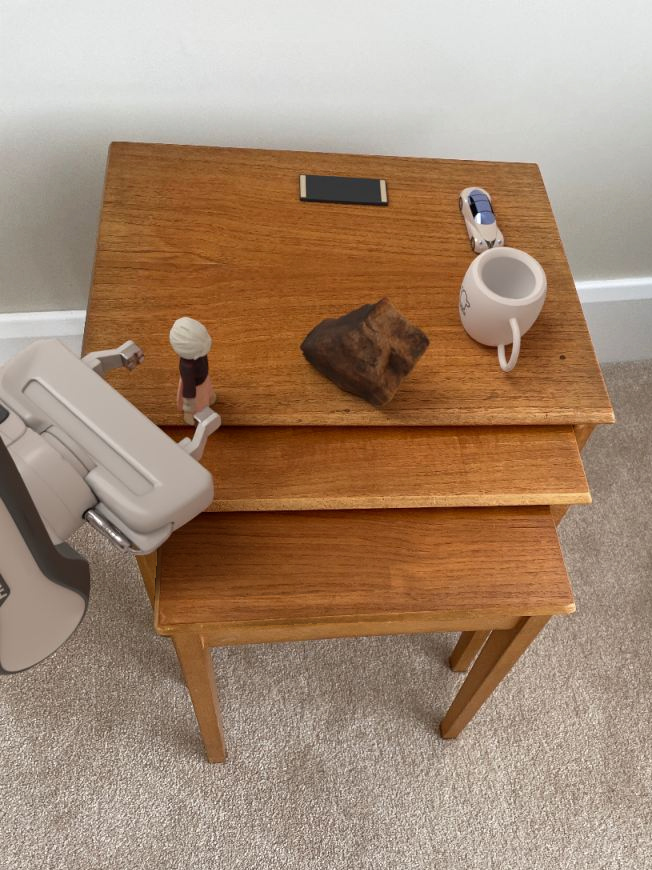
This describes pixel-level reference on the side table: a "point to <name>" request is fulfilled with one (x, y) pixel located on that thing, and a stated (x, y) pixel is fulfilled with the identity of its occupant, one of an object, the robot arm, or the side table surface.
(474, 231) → the toy car
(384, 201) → the black flat block
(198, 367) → the grandmother figurine
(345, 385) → the decorative rock
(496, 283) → the mug
